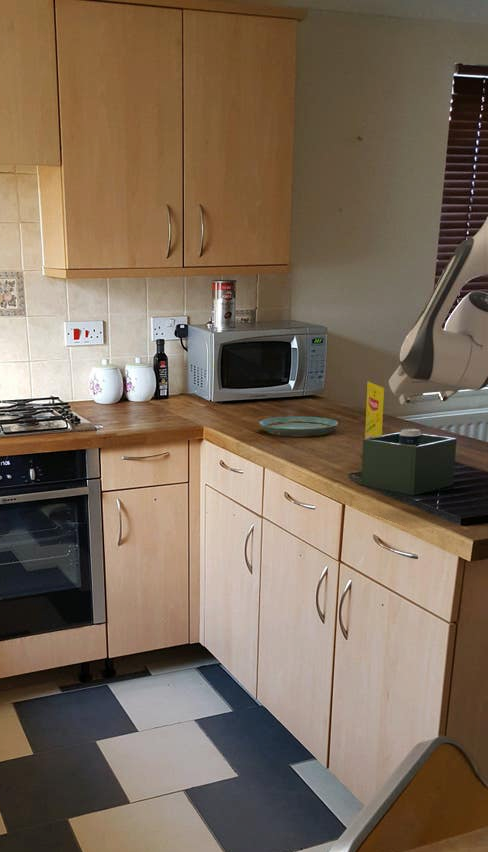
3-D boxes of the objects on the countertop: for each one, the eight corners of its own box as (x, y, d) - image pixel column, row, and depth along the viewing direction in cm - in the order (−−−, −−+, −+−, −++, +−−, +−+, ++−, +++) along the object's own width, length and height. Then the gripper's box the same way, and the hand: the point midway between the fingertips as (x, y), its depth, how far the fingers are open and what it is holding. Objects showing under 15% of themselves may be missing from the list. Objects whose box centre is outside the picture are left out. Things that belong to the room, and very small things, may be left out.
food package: (362, 457, 233) (365, 381, 227) (366, 457, 233) (369, 381, 227) (377, 469, 219) (381, 387, 212) (382, 468, 219) (386, 387, 212)
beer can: (421, 484, 198) (424, 431, 194) (400, 484, 198) (403, 432, 194) (414, 479, 203) (418, 427, 199) (394, 480, 202) (397, 428, 199)
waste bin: (453, 485, 199) (456, 438, 196) (413, 496, 191) (416, 447, 187) (400, 476, 210) (403, 431, 207) (360, 485, 202) (362, 439, 198)
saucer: (302, 442, 258) (302, 430, 257) (243, 433, 276) (243, 423, 275) (353, 431, 273) (353, 420, 272) (294, 423, 290) (294, 413, 289)
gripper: (409, 372, 175) (384, 415, 187) (499, 366, 179) (468, 408, 192) (399, 348, 177) (374, 392, 189) (488, 342, 182) (458, 385, 194)
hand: (422, 400), depth 191 cm, fingers open, 8 cm apart
